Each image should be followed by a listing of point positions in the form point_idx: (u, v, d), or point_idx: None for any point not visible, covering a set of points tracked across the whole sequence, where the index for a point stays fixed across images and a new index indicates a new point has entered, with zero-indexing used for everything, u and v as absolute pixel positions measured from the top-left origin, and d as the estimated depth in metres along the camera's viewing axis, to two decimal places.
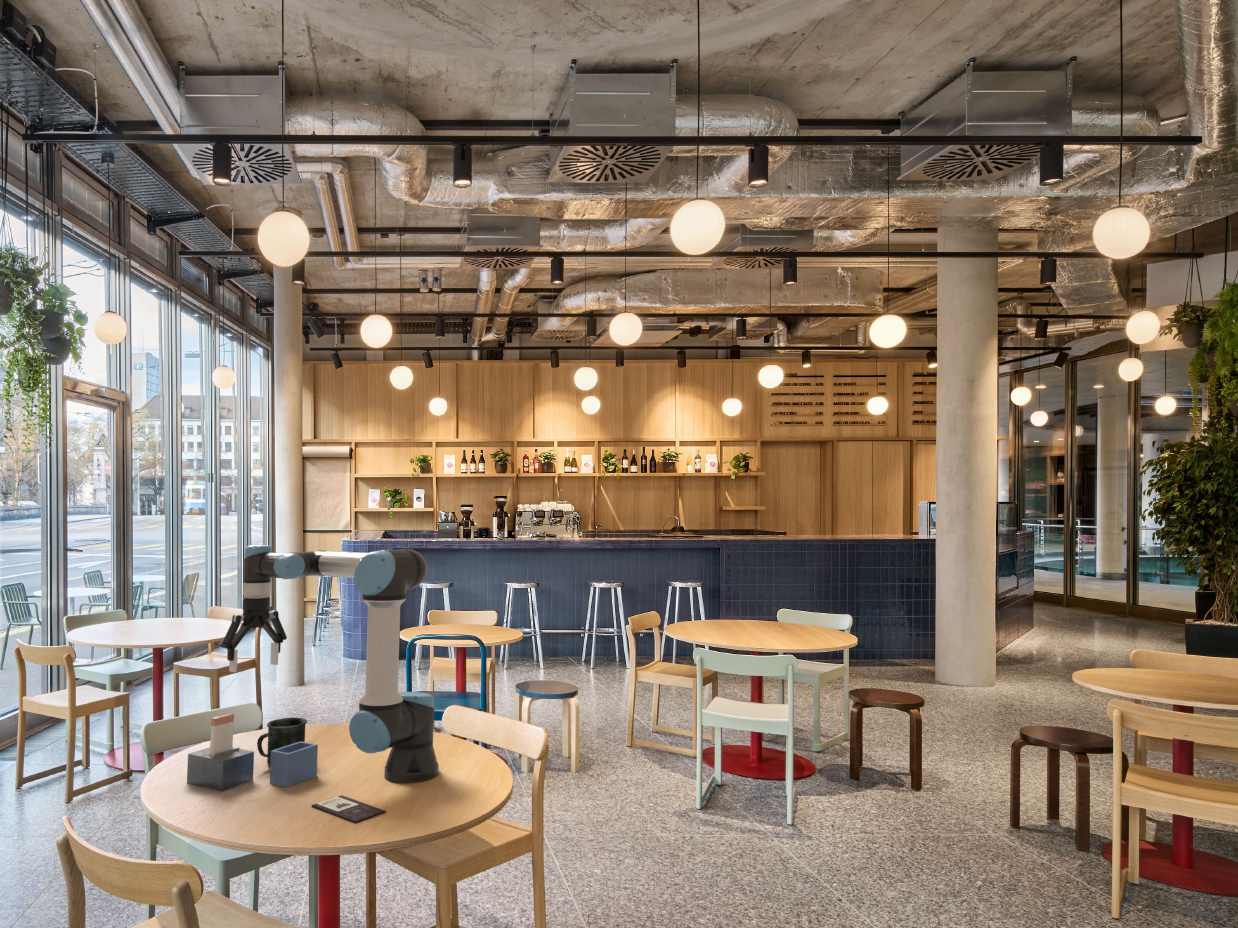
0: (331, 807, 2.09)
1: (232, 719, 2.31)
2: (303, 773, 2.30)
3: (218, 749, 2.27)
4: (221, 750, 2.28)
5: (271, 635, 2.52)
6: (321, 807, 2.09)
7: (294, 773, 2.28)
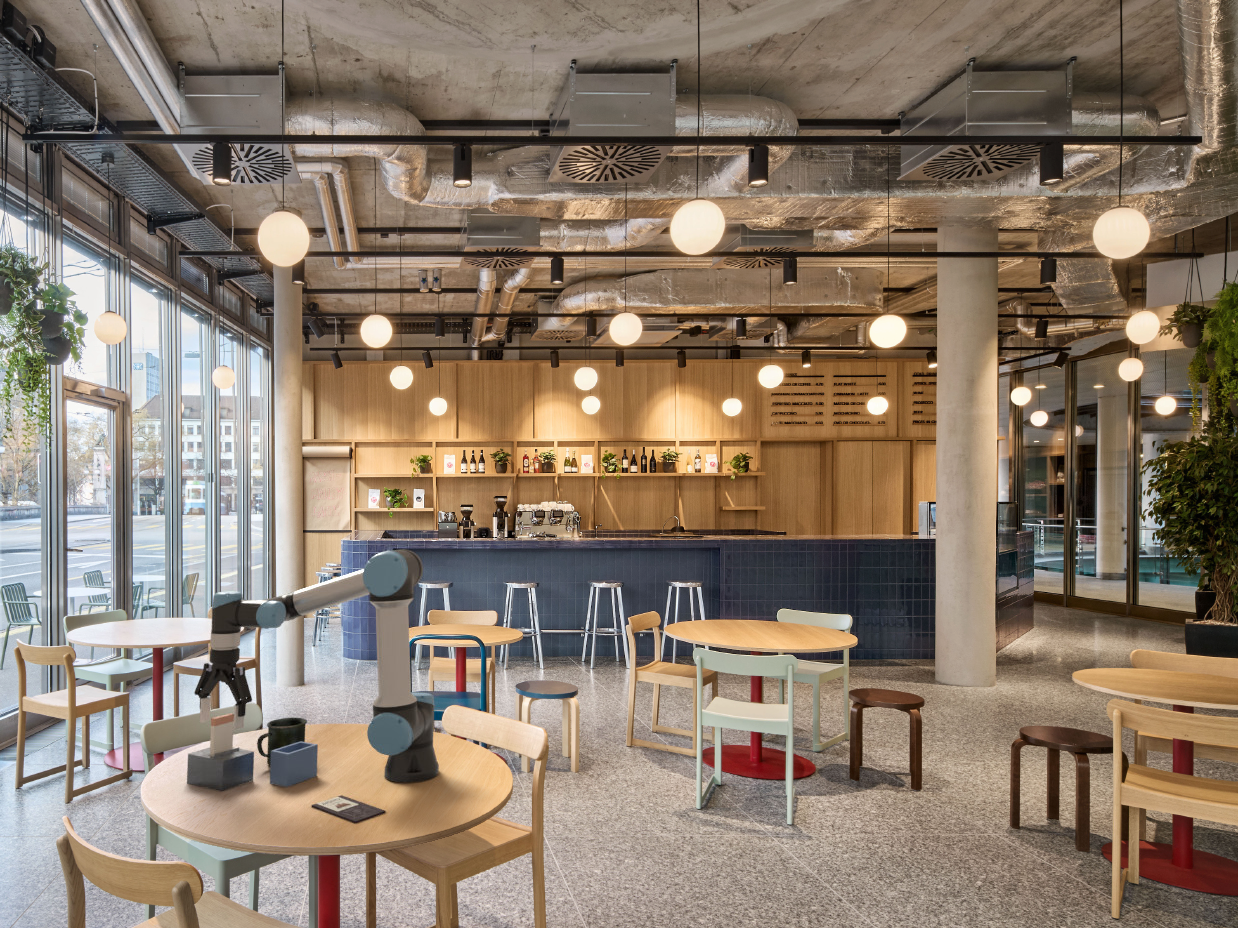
0: (331, 807, 2.09)
1: (232, 719, 2.31)
2: (303, 773, 2.30)
3: (218, 749, 2.27)
4: (221, 750, 2.28)
5: None
6: (321, 807, 2.09)
7: (294, 773, 2.28)
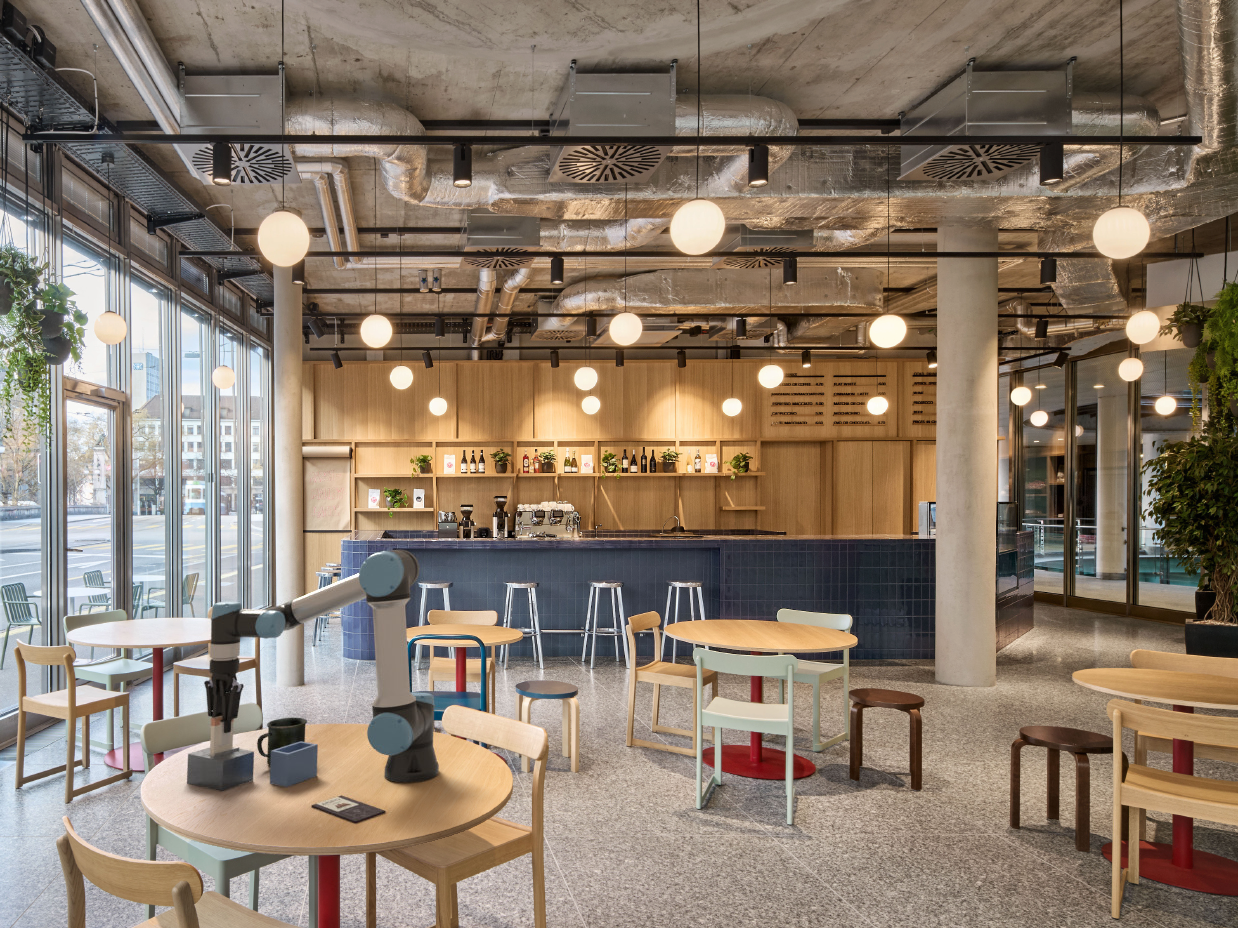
0: (331, 807, 2.09)
1: (232, 719, 2.31)
2: (303, 773, 2.30)
3: (218, 749, 2.27)
4: (221, 750, 2.28)
5: None
6: (321, 807, 2.09)
7: (294, 773, 2.28)
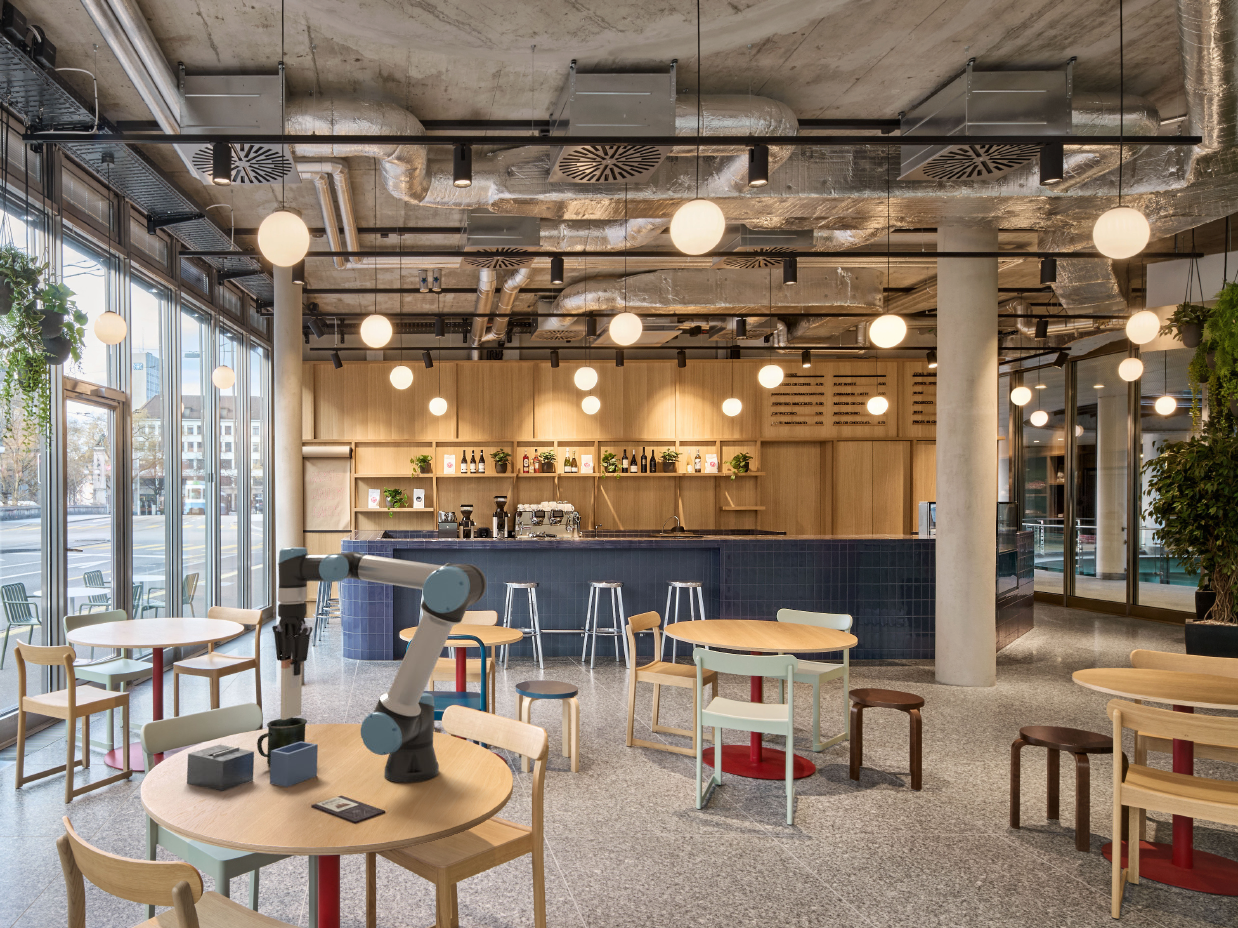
0: (331, 807, 2.09)
1: None
2: (303, 773, 2.30)
3: (289, 691, 2.30)
4: (291, 692, 2.31)
5: None
6: (321, 807, 2.09)
7: (294, 773, 2.28)
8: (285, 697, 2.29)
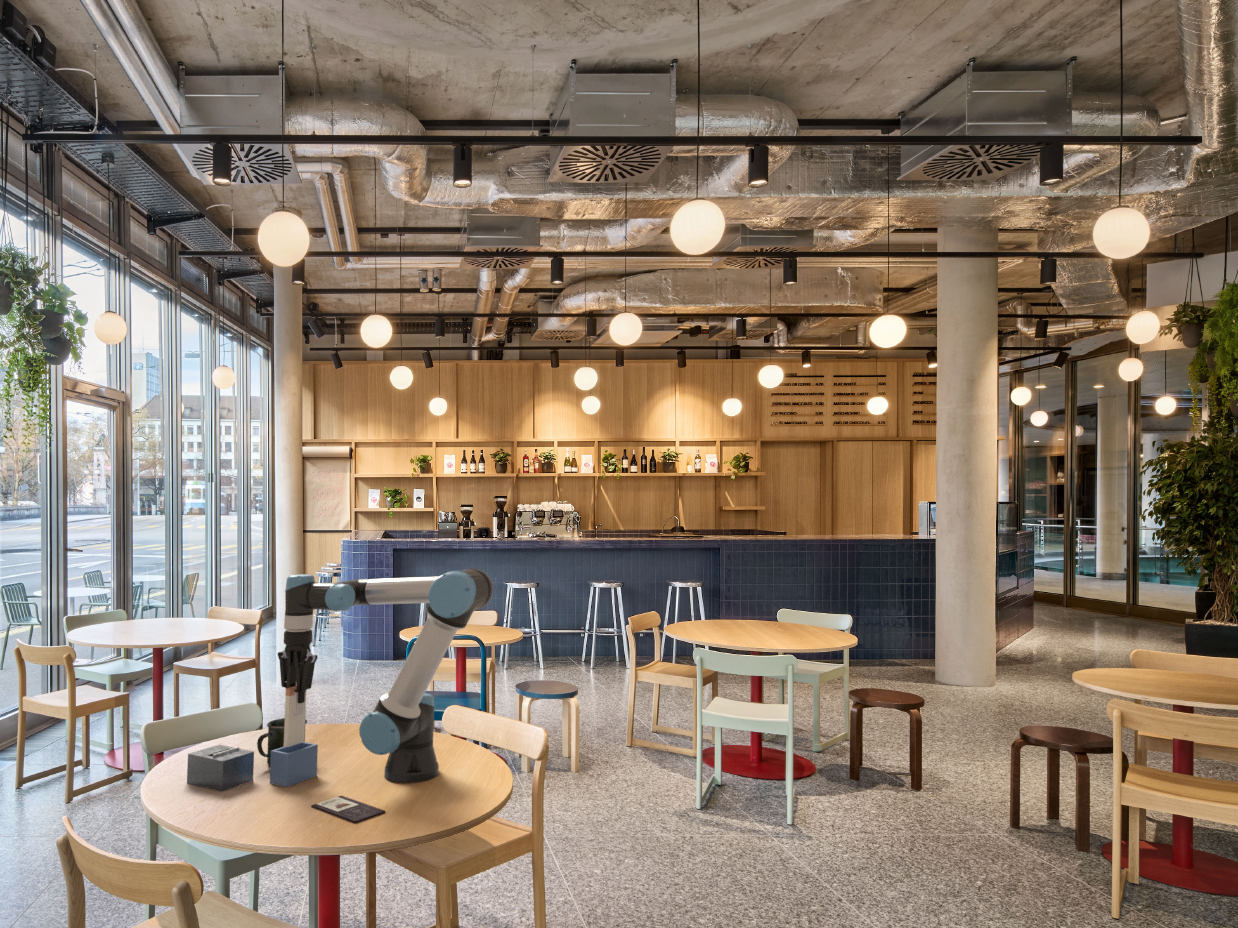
0: (330, 807, 2.09)
1: None
2: (303, 773, 2.30)
3: (292, 719, 2.31)
4: (295, 720, 2.31)
5: None
6: (321, 807, 2.09)
7: (294, 773, 2.28)
8: (288, 725, 2.29)
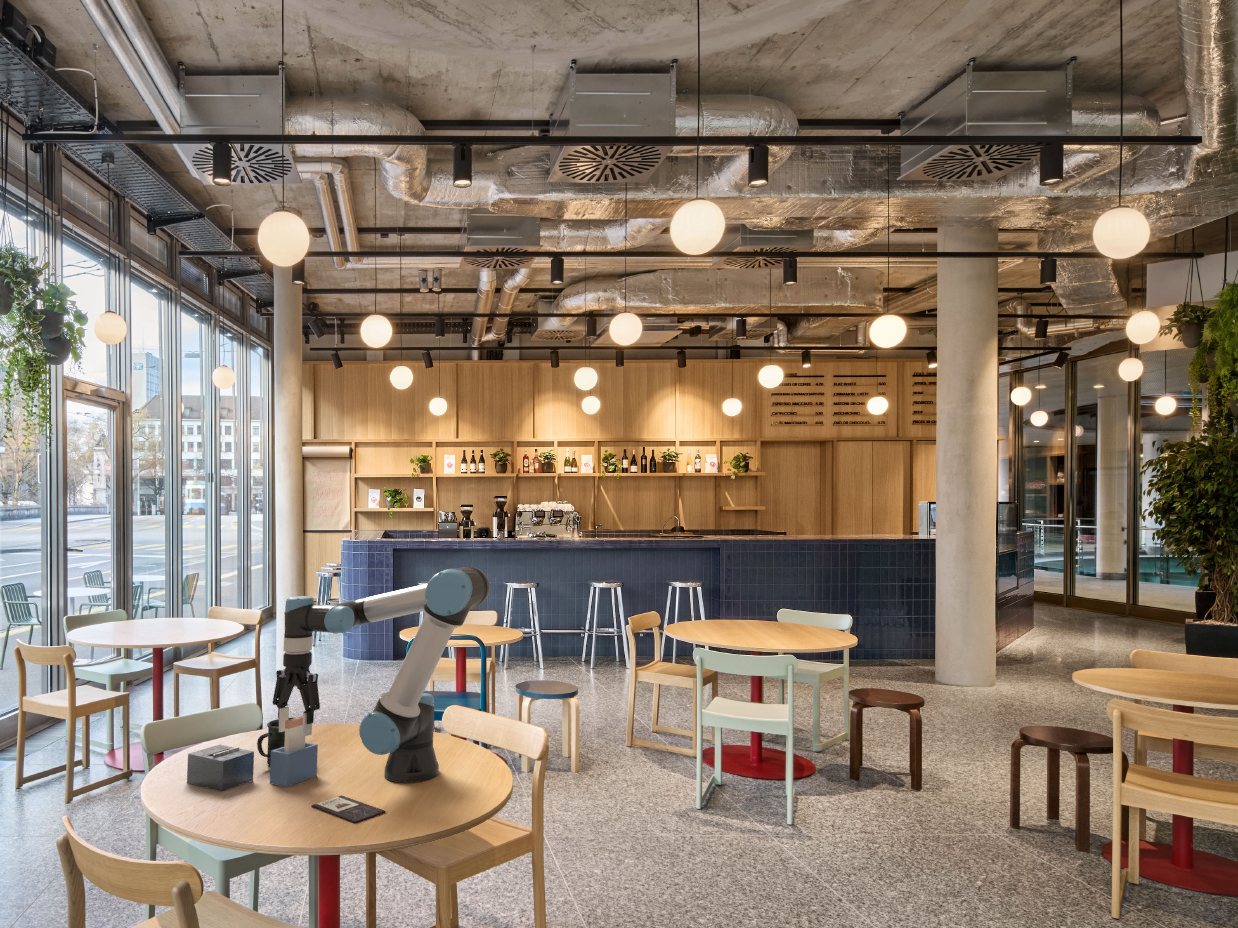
0: (331, 807, 2.09)
1: None
2: (303, 773, 2.30)
3: (292, 751, 2.30)
4: None
5: None
6: (321, 807, 2.09)
7: (294, 773, 2.28)
8: None
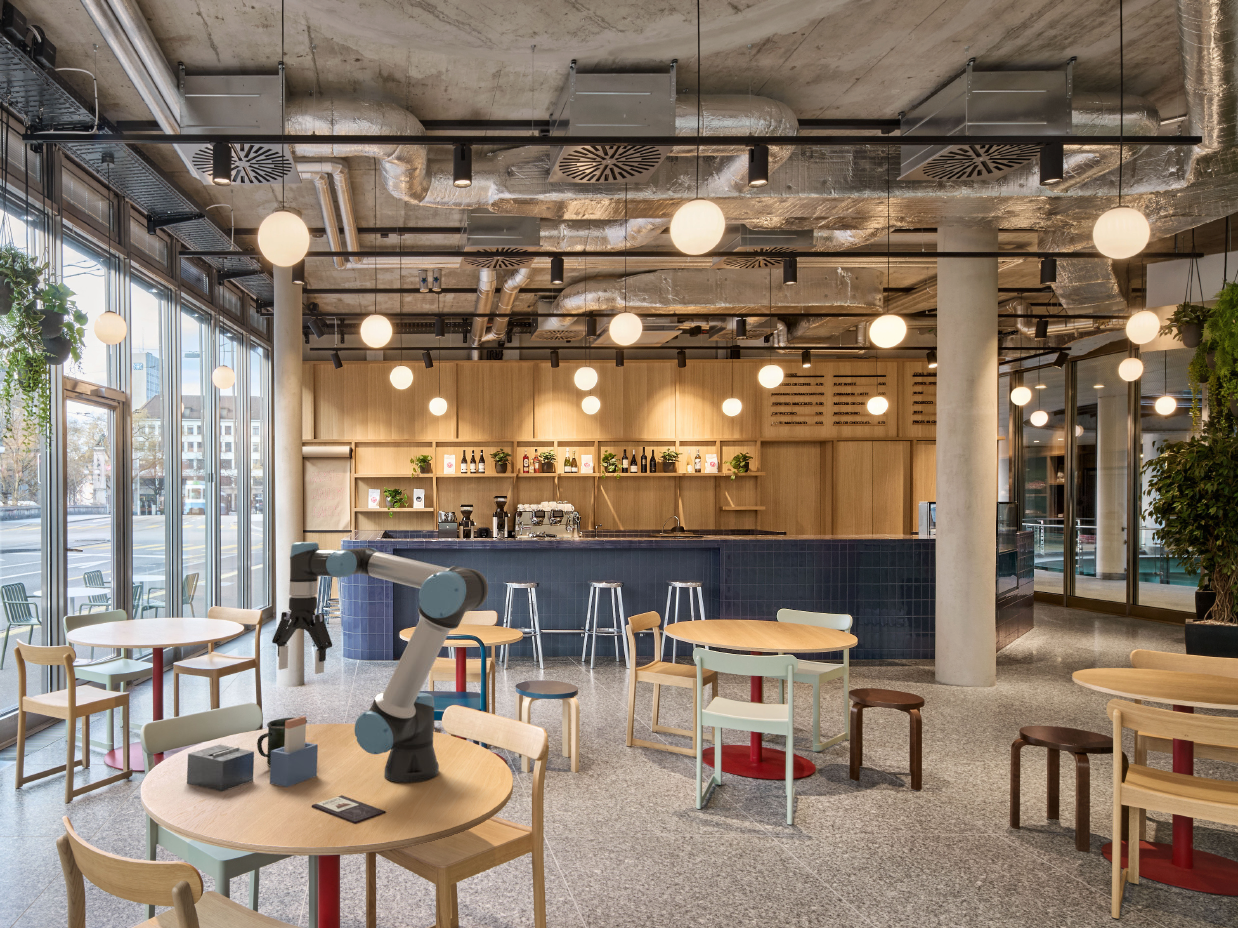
0: (331, 807, 2.09)
1: (304, 722, 2.34)
2: (303, 773, 2.30)
3: (292, 751, 2.30)
4: None
5: None
6: (321, 807, 2.09)
7: (294, 773, 2.28)
8: None
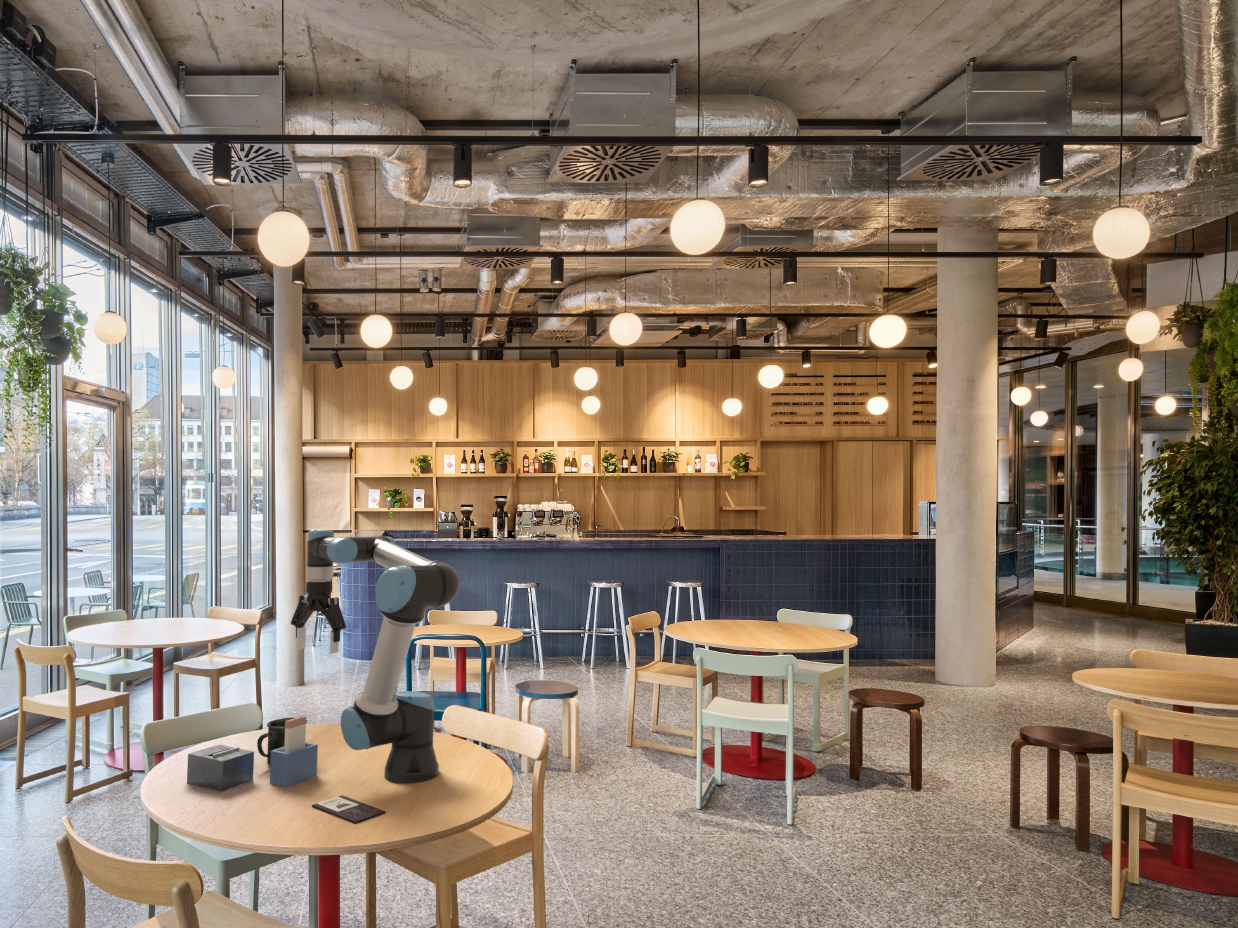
0: (331, 807, 2.09)
1: (304, 722, 2.34)
2: (303, 773, 2.30)
3: (292, 751, 2.30)
4: None
5: None
6: (321, 807, 2.09)
7: (294, 773, 2.28)
8: None
